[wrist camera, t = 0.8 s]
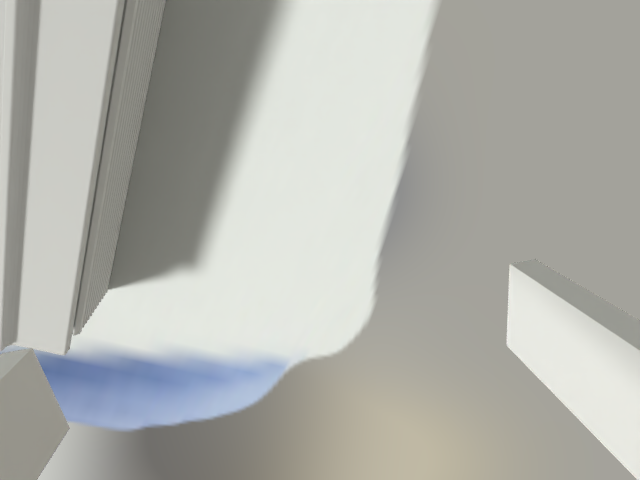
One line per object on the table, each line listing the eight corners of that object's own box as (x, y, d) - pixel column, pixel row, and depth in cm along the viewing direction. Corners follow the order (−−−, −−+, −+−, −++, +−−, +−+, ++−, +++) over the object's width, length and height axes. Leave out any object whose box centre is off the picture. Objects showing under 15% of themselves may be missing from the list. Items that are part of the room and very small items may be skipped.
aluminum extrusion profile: (-52, 246, 36) (-160, 318, 27) (-66, -172, 23) (-287, -292, 14) (109, 288, 39) (59, 363, 31) (178, -51, 26) (125, -86, 18)
